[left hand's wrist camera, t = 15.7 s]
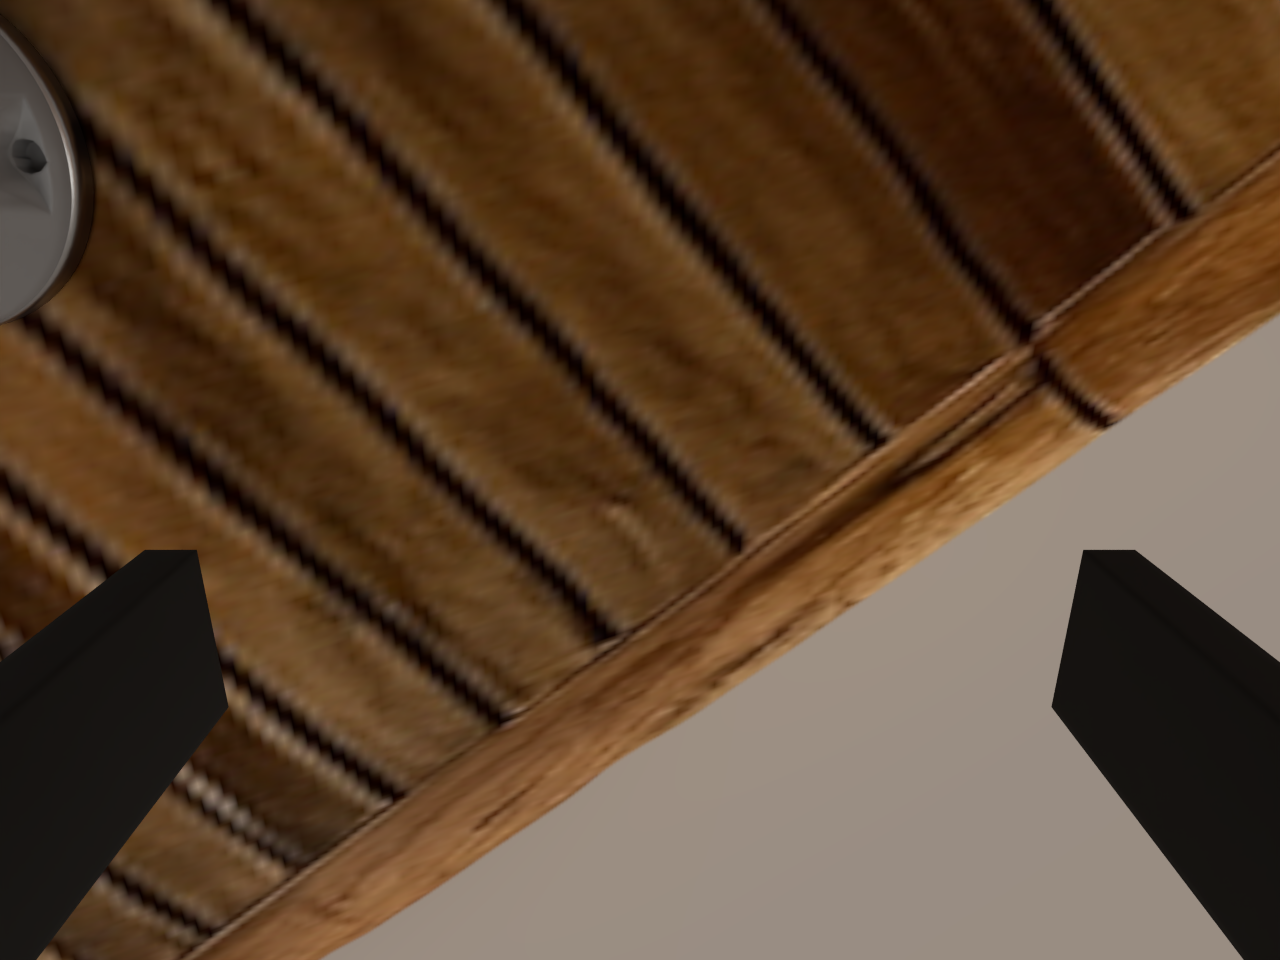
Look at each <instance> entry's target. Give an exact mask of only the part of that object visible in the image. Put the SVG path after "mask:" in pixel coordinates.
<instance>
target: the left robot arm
mask: <svg viewBox="0 0 1280 960" xmlns="http://www.w3.org/2000/svg"><path fill="white" fill-rule="evenodd" d="M93 196H94V191H93V178H92V170H91V164H90V158H89V154H88V150H87V146H86V142H85V139H84V136H83V133H82V130H81V127H80V124H79V121H78V119H77V117H76V115H75V112H74V110H73V108H72V106H71V103H70V101H69V99H68V98H67V96H66V94H65V92H64V90H63V88H62V87H61V85H60V83H59V82H58V80H57V78H56V77H55V75H54V74H53V72H52V71H51V69H50V68H49V66H48V65H47V64H46V62H45V61H44V60H43V58H42V57H41V56H40V54H39V53H38V52H37V50H36V49H35V48H34V47H33V46H32V45H31V44H30V43H29V41H28V40H27V39H26V38H25V37H24V36H23V35H22V34H21V33H20V32H19V31H18V30H17V29H16V28H15V27H14V26H13V25H12V24H11V23H10V22H9V21H8V20H7V19H6V18H4V17H3V16H2V15H1V14H0V325H2V324H6V323H10V322H12V321H15V320H17V319H20V318H22V317H24V316H26V315H28V314H30V313H32V312H34V311H36V310H37V309H39V308H40V307H41V306H43V305H44V304H46V303H47V302H48V301H49V300H50V299H52V298H53V297H54V296H55V295H56V294H57V293H58V292H59V291H60V290H61V289H62V287H63V286H64V285H65V284H66V283H67V282H68V280H69V279H70V277H71V275H72V274H73V272H74V271H75V269H76V267H77V265H78V263H79V261H80V259H81V257H82V255H83V252H84V250H85V247H86V244H87V241H88V237H89V233H90V229H91V223H92V215H93ZM227 708H228V702H227V697H226V692H225V687H224V683H223V678H222V673H221V668H220V663H219V658H218V653H217V648H216V643H215V638H214V633H213V628H212V623H211V618H210V613H209V608H208V603H207V599H206V594H205V589H204V584H203V579H202V574H201V569H200V564H199V559H198V554H197V550H144V551H143V552H142V553H140V554H139V555H138V556H137V557H135V558H134V559H133V560H131V561H130V562H129V563H128V564H126V565H125V566H124V567H122V568H121V569H120V570H118V571H117V572H116V573H115V574H113V575H112V576H111V577H109V578H108V579H107V580H106V581H104V582H103V583H102V584H100V585H99V586H98V587H97V588H95V589H94V590H93V591H91V592H90V593H89V594H88V595H86V596H85V597H84V598H82V599H81V600H80V601H79V602H77V603H76V604H75V605H73V606H72V607H71V608H70V609H68V610H67V611H66V612H64V613H63V614H62V615H61V616H59V617H58V618H57V619H55V620H54V621H53V622H51V623H50V624H49V625H48V626H46V627H45V628H44V629H42V630H41V631H40V632H39V633H37V634H36V635H35V636H33V637H32V638H31V639H30V640H28V641H27V642H26V643H24V644H23V645H22V646H21V647H19V648H18V649H17V650H15V651H14V652H13V653H12V654H10V655H9V656H8V657H6V658H5V659H4V660H3V661H1V662H0V960H36V959H37V958H38V957H39V955H40V954H41V953H42V952H43V950H44V949H45V948H46V946H47V945H48V944H49V942H50V941H51V940H52V938H53V937H54V936H55V934H56V933H57V932H58V930H59V929H60V928H61V927H62V925H63V924H64V923H65V921H66V920H67V919H68V917H69V916H70V915H71V913H72V912H73V911H74V909H75V908H76V907H77V905H78V904H79V903H80V902H81V900H82V899H83V898H84V896H85V895H86V894H87V892H88V891H89V890H90V888H91V887H92V886H93V884H94V883H95V882H96V880H97V879H98V878H99V877H100V875H101V874H102V873H103V871H104V870H105V869H106V867H107V866H108V865H109V863H110V862H111V861H112V859H113V858H114V857H115V856H116V854H117V853H118V852H119V850H120V849H121V848H122V846H123V845H124V844H125V842H126V841H127V840H128V838H129V837H130V836H131V834H132V833H133V832H134V831H135V829H136V828H137V827H138V825H139V824H140V823H141V821H142V820H143V819H144V817H145V816H146V815H147V813H148V812H149V811H150V809H151V808H152V807H153V806H154V804H155V803H156V802H157V800H158V799H159V798H160V796H161V795H162V794H163V792H164V791H165V790H166V788H167V787H168V786H169V784H170V783H171V782H172V781H173V779H174V778H175V777H176V775H177V774H178V773H179V771H180V770H181V769H182V767H183V766H184V765H185V763H186V762H187V761H188V759H189V758H190V757H191V756H192V754H193V753H194V752H195V750H196V749H197V748H198V746H199V745H200V744H201V742H202V741H203V740H204V738H205V737H206V736H207V735H208V733H209V732H210V731H211V729H212V728H213V727H214V725H215V724H216V723H217V721H218V720H219V719H220V717H221V716H222V715H223V713H224V712H225V711H226V710H227ZM1052 708H1053V710H1054V711H1055V712H1056V713H1057V715H1058V716H1059V717H1060V719H1061V720H1062V721H1063V723H1064V724H1065V725H1066V727H1067V728H1068V729H1069V731H1070V732H1071V733H1072V735H1073V736H1074V737H1075V738H1076V740H1077V741H1078V742H1079V744H1080V745H1081V746H1082V748H1083V749H1084V750H1085V752H1086V753H1087V754H1088V756H1089V757H1090V758H1091V759H1092V761H1093V762H1094V763H1095V765H1096V766H1097V767H1098V769H1099V770H1100V771H1101V773H1102V774H1103V775H1104V777H1105V778H1106V779H1107V780H1108V782H1109V783H1110V784H1111V786H1112V787H1113V788H1114V790H1115V791H1116V792H1117V794H1118V795H1119V796H1120V798H1121V799H1122V800H1123V802H1124V803H1125V804H1126V806H1127V807H1128V808H1129V809H1130V811H1131V812H1132V813H1133V815H1134V816H1135V817H1136V819H1137V820H1138V821H1139V823H1140V824H1141V825H1142V827H1143V828H1144V829H1145V830H1146V832H1147V833H1148V834H1149V836H1150V837H1151V838H1152V840H1153V841H1154V842H1155V844H1156V845H1157V846H1158V848H1159V849H1160V850H1161V852H1162V853H1163V854H1164V856H1165V857H1166V858H1167V859H1168V861H1169V862H1170V863H1171V865H1172V866H1173V867H1174V869H1175V870H1176V871H1177V873H1178V874H1179V875H1180V877H1181V878H1182V879H1183V880H1184V882H1185V883H1186V884H1187V886H1188V887H1189V888H1190V890H1191V891H1192V892H1193V894H1194V895H1195V896H1196V898H1197V899H1198V900H1199V902H1200V903H1201V904H1202V905H1203V907H1204V908H1205V909H1206V911H1207V912H1208V913H1209V915H1210V916H1211V917H1212V919H1213V920H1214V921H1215V923H1216V924H1217V925H1218V927H1219V928H1220V929H1221V930H1222V932H1223V933H1224V934H1225V936H1226V937H1227V938H1228V940H1229V941H1230V942H1231V944H1232V945H1233V946H1234V948H1235V949H1236V950H1237V952H1238V953H1239V954H1240V955H1241V957H1242V958H1243V959H1244V960H1280V662H1279V661H1277V660H1276V659H1275V658H1274V657H1272V656H1271V655H1270V654H1268V653H1267V652H1266V651H1265V650H1263V649H1262V648H1261V647H1259V646H1258V645H1257V644H1256V643H1254V642H1253V641H1252V640H1250V639H1249V638H1248V637H1247V636H1245V635H1244V634H1243V633H1241V632H1240V631H1239V630H1237V629H1236V628H1235V627H1234V626H1232V625H1231V624H1230V623H1229V622H1227V621H1226V620H1225V619H1223V618H1222V617H1221V616H1219V615H1218V614H1217V613H1216V612H1214V611H1213V610H1212V609H1210V608H1209V607H1208V606H1207V605H1205V604H1204V603H1203V602H1201V601H1200V600H1199V599H1198V598H1196V597H1195V596H1194V595H1192V594H1191V593H1190V592H1189V591H1187V590H1186V589H1185V588H1183V587H1182V586H1181V585H1180V584H1178V583H1177V582H1176V581H1174V580H1173V579H1172V578H1171V577H1169V576H1168V575H1167V574H1165V573H1164V572H1163V571H1162V570H1160V569H1159V568H1157V567H1156V566H1155V565H1154V564H1152V563H1151V562H1150V561H1149V560H1147V559H1146V558H1145V557H1143V556H1142V555H1141V554H1140V553H1138V552H1137V551H1136V550H1083V554H1082V559H1081V564H1080V569H1079V574H1078V579H1077V584H1076V589H1075V594H1074V599H1073V603H1072V608H1071V613H1070V618H1069V623H1068V628H1067V633H1066V638H1065V643H1064V648H1063V653H1062V658H1061V663H1060V668H1059V673H1058V678H1057V683H1056V688H1055V693H1054V698H1053V702H1052Z"/></svg>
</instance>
